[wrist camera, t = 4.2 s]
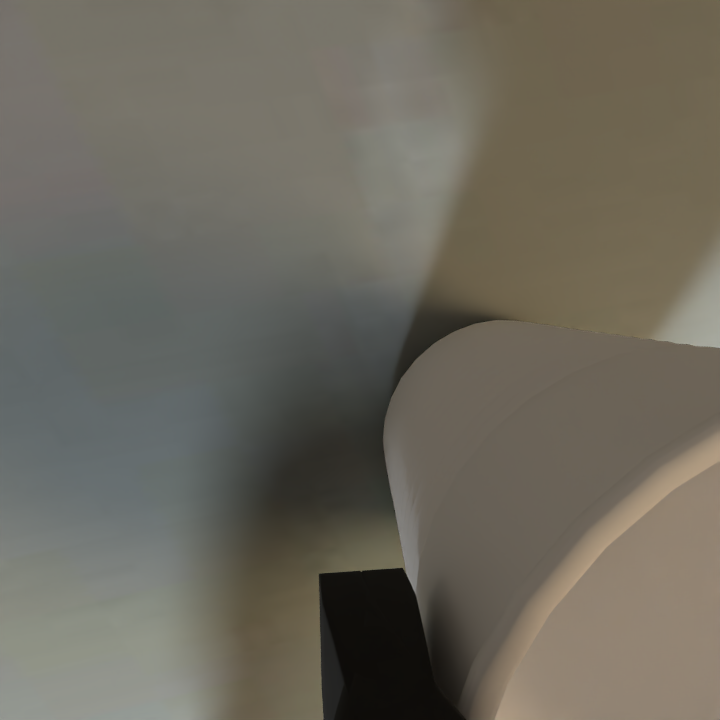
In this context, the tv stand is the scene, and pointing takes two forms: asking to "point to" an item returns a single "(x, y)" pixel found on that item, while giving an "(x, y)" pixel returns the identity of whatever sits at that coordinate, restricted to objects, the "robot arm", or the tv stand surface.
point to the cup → (562, 521)
